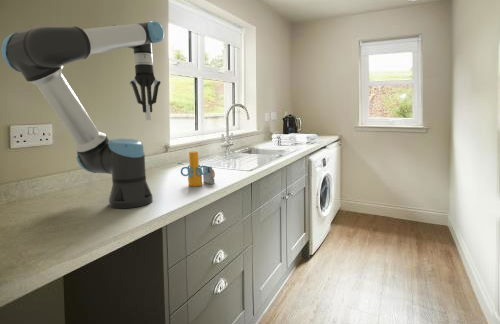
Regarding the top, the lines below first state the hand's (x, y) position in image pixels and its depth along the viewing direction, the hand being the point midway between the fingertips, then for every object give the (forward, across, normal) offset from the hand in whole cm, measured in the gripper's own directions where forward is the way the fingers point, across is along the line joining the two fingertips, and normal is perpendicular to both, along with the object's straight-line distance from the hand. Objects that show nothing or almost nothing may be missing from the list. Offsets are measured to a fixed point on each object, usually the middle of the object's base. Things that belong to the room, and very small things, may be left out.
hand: (148, 120), depth 153 cm
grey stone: (+29, +22, -11) cm, 38 cm away
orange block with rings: (+30, +16, -11) cm, 35 cm away
